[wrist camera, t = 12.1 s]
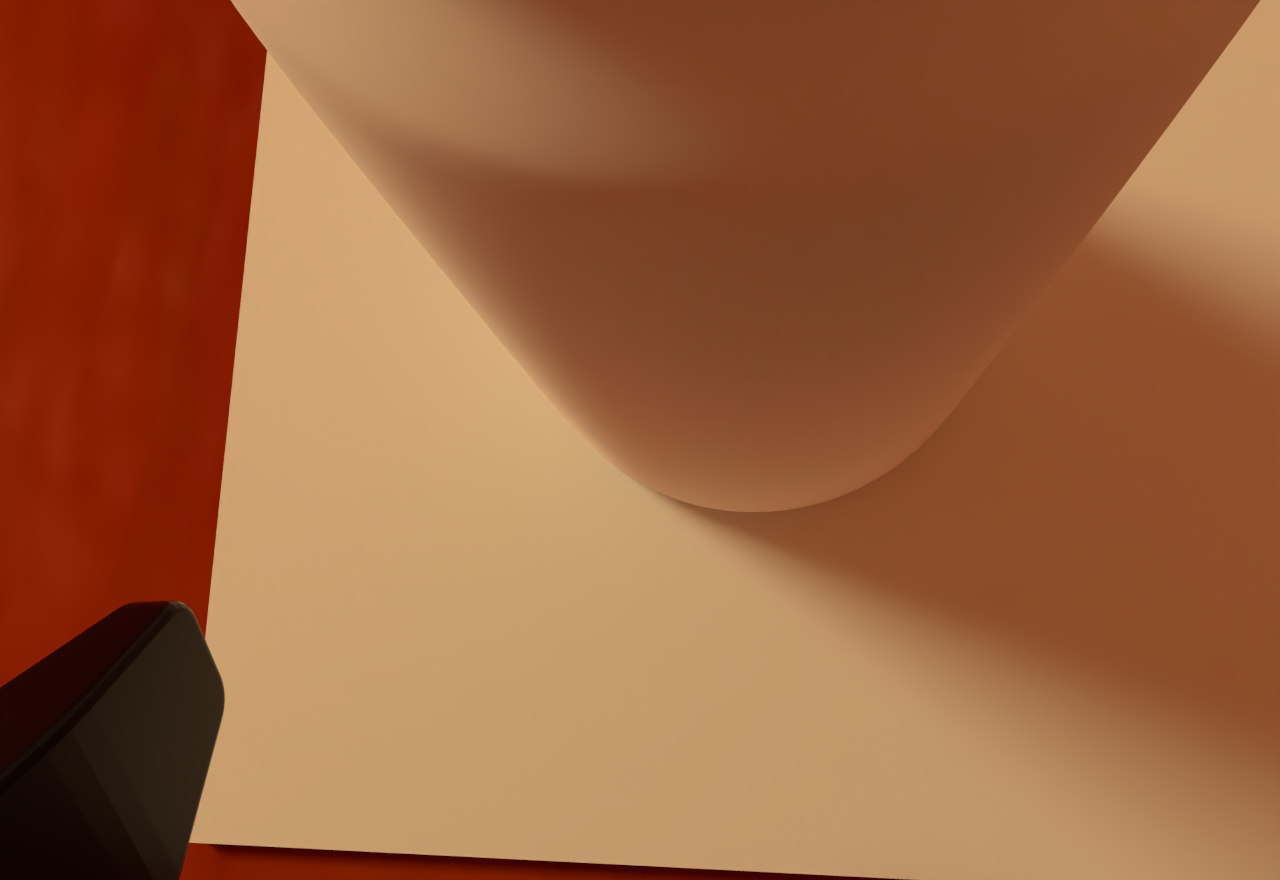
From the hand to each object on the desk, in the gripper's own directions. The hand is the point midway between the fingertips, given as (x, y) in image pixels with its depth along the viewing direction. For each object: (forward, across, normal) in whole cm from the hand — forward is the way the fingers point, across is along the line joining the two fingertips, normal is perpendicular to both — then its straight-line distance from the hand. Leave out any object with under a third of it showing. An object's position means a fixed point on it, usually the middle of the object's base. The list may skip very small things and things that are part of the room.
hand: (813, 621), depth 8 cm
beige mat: (+9, 0, +2) cm, 9 cm away
